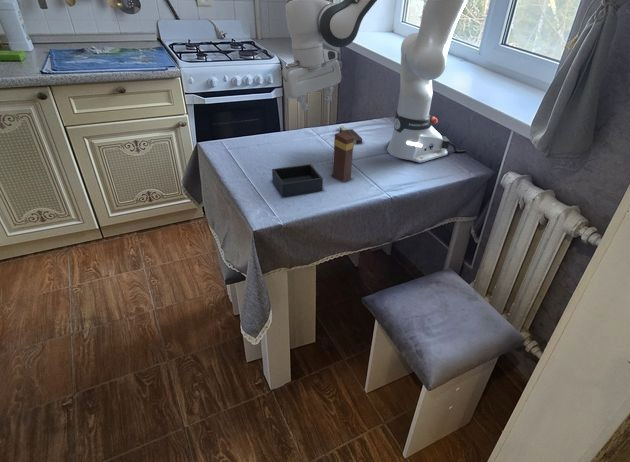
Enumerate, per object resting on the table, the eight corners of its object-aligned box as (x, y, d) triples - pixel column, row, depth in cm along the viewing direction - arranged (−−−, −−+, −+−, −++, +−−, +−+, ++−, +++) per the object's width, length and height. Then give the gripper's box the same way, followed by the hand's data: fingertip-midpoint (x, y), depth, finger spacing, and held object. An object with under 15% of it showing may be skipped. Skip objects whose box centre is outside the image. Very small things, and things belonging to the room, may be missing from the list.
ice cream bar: (334, 129, 167) (350, 145, 157) (334, 125, 166) (350, 140, 156) (347, 128, 170) (363, 143, 159) (347, 124, 169) (363, 139, 158)
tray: (310, 175, 135) (310, 163, 132) (322, 190, 128) (322, 178, 126) (272, 181, 130) (272, 168, 127) (282, 197, 123) (282, 184, 120)
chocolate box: (339, 172, 138) (342, 131, 130) (350, 179, 136) (354, 137, 128) (332, 175, 136) (334, 134, 128) (343, 182, 134) (346, 140, 126)
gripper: (288, 66, 116) (298, 116, 123) (341, 50, 128) (347, 97, 136) (273, 65, 120) (284, 114, 127) (326, 50, 132) (333, 95, 139)
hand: (317, 105), depth 131 cm, fingers open, 8 cm apart
